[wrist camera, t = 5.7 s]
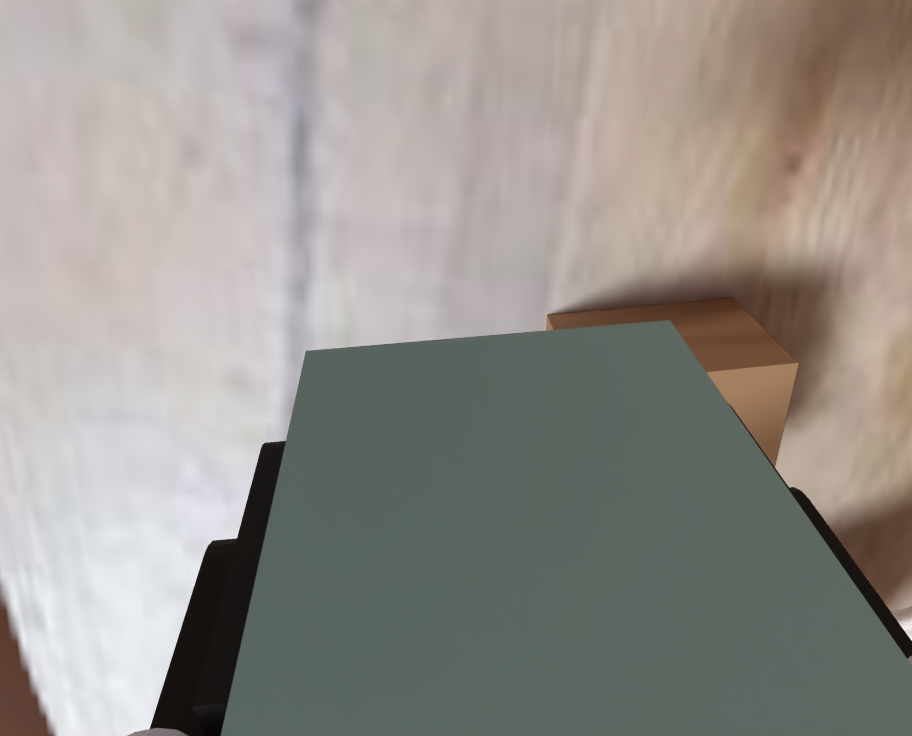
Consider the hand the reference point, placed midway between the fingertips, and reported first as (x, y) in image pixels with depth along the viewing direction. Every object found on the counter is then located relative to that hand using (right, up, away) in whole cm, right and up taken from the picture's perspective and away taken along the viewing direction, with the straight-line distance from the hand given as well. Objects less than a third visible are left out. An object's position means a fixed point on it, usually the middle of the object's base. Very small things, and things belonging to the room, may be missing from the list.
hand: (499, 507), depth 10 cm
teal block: (0, 0, +1) cm, 1 cm away
